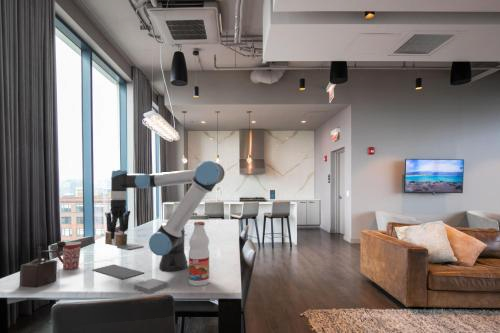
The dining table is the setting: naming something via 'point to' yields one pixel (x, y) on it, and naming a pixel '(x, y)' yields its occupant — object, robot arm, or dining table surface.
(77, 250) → the mug
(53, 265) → the manual coffee grinder
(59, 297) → the dining table surface
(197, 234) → the fruit juice
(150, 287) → the tile
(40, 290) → the dining table surface
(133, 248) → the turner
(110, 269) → the mat
